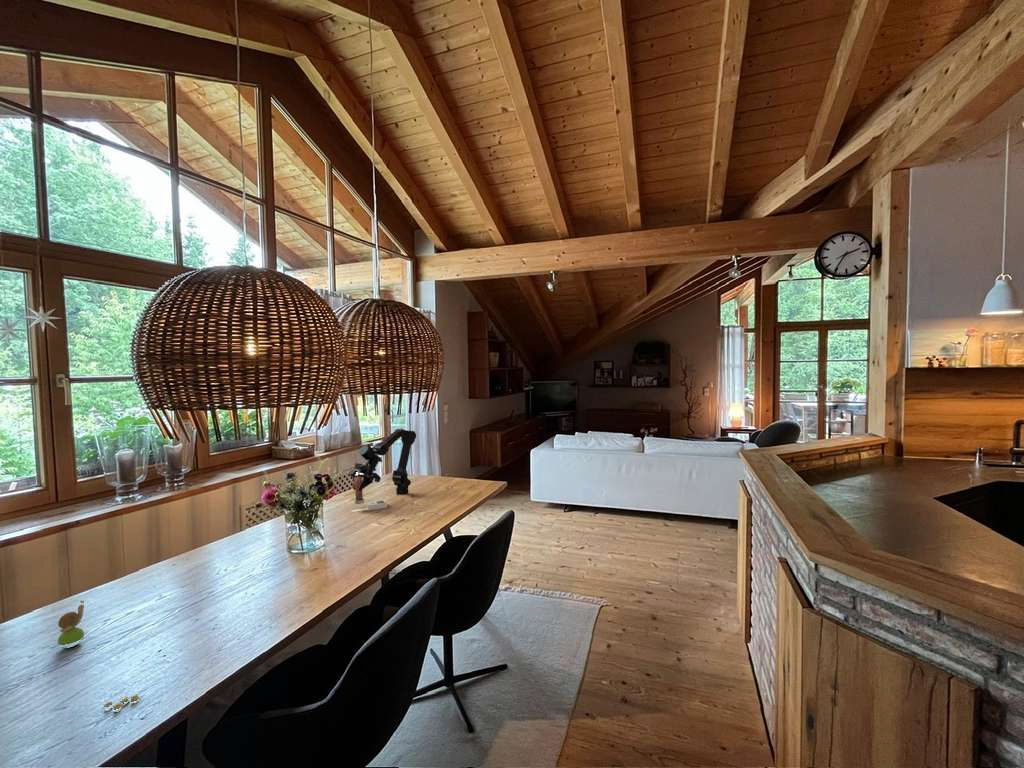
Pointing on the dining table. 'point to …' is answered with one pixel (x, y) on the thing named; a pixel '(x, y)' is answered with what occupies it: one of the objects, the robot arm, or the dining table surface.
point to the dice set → (117, 706)
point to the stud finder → (376, 505)
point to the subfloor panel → (358, 510)
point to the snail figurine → (71, 627)
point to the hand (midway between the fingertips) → (356, 490)
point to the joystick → (358, 493)
